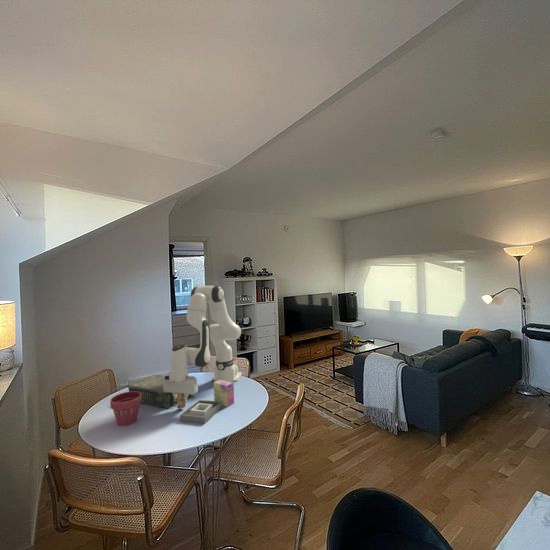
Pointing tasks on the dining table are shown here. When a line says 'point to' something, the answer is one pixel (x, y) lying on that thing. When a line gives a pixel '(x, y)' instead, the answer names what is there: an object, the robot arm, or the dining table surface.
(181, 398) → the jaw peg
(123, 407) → the plant pot
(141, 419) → the dining table surface
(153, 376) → the metal box
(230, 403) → the box
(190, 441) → the dining table surface
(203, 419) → the housing
